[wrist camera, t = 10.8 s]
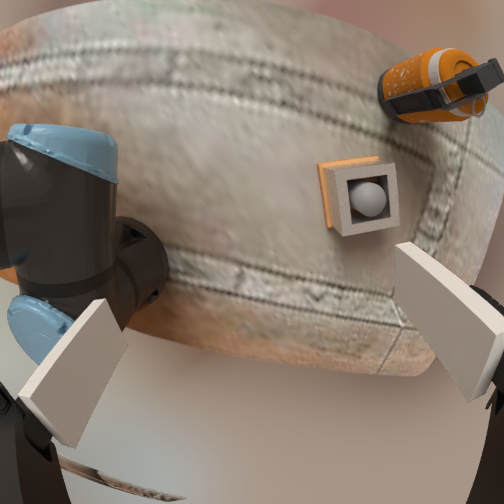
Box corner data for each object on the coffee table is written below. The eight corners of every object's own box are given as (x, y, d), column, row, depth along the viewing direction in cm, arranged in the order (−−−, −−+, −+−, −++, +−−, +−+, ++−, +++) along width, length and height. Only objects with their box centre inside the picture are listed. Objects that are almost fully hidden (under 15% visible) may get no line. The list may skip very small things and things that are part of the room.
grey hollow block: (330, 223, 39) (342, 236, 33) (322, 167, 36) (334, 170, 30) (381, 214, 38) (399, 225, 32) (375, 159, 35) (394, 162, 30)
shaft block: (326, 225, 40) (340, 242, 33) (316, 163, 37) (330, 167, 30) (381, 215, 39) (404, 229, 32) (375, 156, 36) (399, 159, 29)
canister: (433, 110, 33) (526, 105, 14) (386, 140, 35) (479, 145, 17) (404, 61, 30) (488, 26, 12) (353, 87, 33) (431, 49, 14)
